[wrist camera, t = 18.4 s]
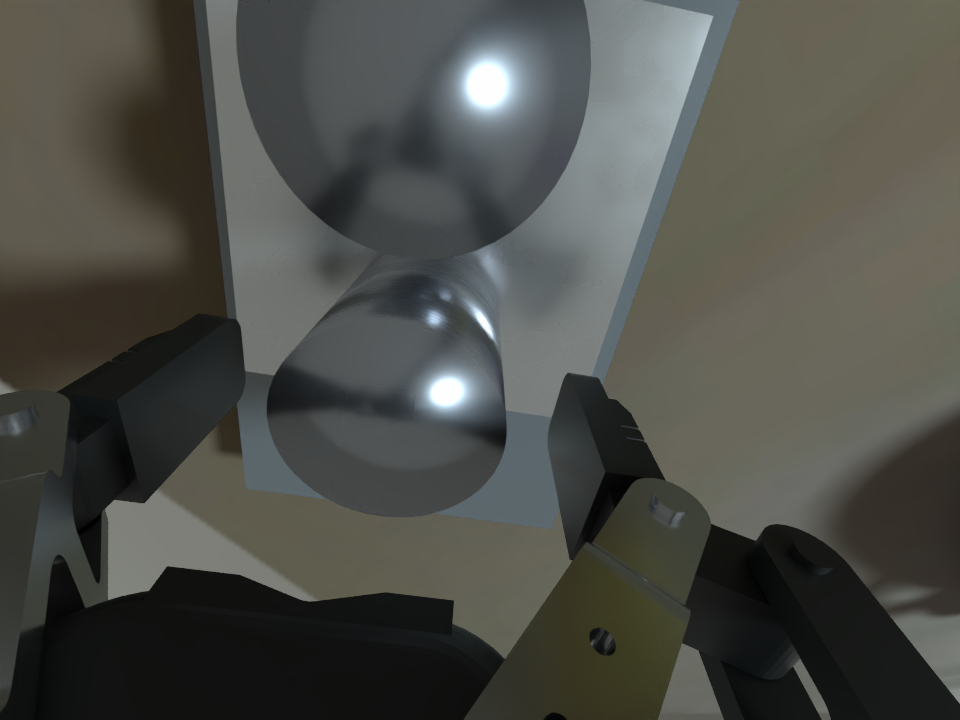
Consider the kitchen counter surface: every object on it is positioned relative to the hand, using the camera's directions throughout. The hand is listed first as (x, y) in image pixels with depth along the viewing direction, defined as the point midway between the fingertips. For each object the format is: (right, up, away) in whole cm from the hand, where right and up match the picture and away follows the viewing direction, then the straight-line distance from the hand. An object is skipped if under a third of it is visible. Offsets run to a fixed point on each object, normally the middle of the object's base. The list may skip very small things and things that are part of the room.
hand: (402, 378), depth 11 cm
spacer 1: (+1, +7, +1) cm, 7 cm away
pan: (+1, +5, +3) cm, 6 cm away
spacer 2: (0, +2, +3) cm, 4 cm away
